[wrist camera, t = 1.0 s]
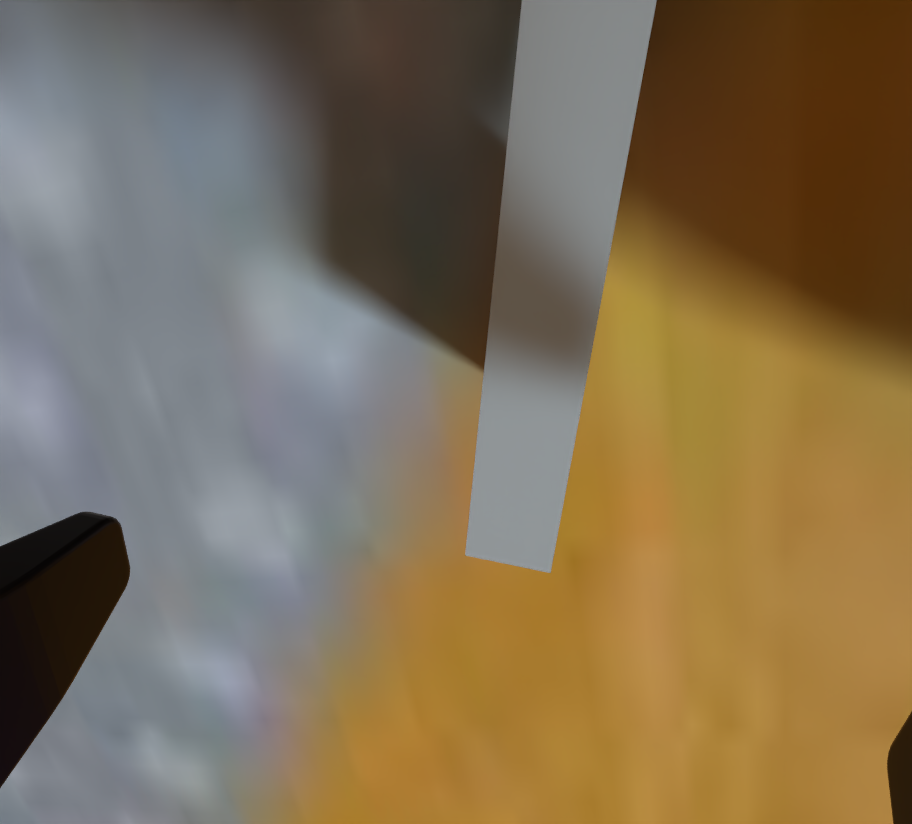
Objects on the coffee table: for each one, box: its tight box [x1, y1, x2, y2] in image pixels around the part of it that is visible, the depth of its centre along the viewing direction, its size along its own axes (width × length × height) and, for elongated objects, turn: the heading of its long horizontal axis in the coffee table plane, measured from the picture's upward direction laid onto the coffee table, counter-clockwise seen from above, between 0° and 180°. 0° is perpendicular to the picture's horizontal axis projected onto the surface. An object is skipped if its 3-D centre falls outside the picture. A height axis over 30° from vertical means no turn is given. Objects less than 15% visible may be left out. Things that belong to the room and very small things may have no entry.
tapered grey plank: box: [465, 0, 657, 573], centre depth 12 cm, size 2×12×6 cm, turn 177°
